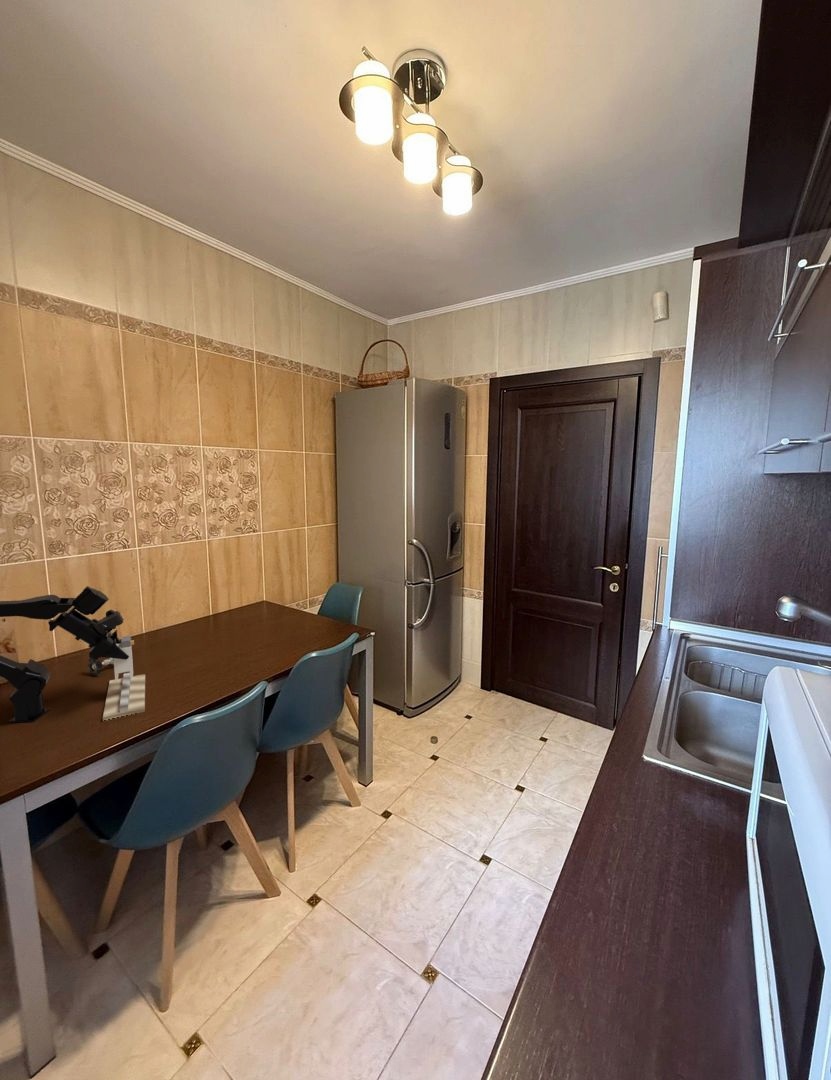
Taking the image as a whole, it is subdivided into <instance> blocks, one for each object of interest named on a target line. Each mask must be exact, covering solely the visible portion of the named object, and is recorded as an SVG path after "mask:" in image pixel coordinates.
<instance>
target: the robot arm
mask: <svg viewBox="0 0 831 1080" xmlns="http://www.w3.org/2000/svg"><path fill="white" fill-rule="evenodd" d="M109 600H110V598H109V597H108V596H107V595H106V594H105V593H104V592H102V591H101V590H97V589H95V588H92V587H90V586H89V585H86V586H85V587H84V589H83V590H82V591H81V592H79V594H78V595H76V596H75V597H59V596H58V595H57V594H56V595H55V594H47V595H40V596H35V597H30V598H25V599H20V600H0V618H6V617H7V618H8V617H21V618H22V617H23V618H27V619H31V620H32V619H33V620H44V621H46V620H48V625H49V626H48V627H49V632H53V631H54V630H55V629H56V628H57V627H59V628H61V629H63V630H64V631H65V632H67V633H69V634H71V635H72V636H74V637H75V638H74V640H76V641H82V642H85V643H86V644H88V648H89V653H88V656H89V659H93V660H95V661H98V659H100V658H105V659H106V658H107V659H109V658H117V659H125V660H126V659H128V658H129V656H128V655H127V654H126V653H125V652H124V651H123V650H121V649H120V648H119V647H118V646H117V645H116V644H119V643H121V641H122V640H120V638H119V636H118V629H117V626H120V625H122V624H123V623H124V618H123V616H122V615H121V611H118V610H116V611H115V610H113V609H109V610H107V611H105V616H104V617H102V618H101V619H99V620H98V619H96V618H92V619H91V618H89V617H87V616H89V615H92V616H93V615H94V614H95V613H97V612H98V611H99V610H100V609H101V608H102V607H103V606H104V605H105V604H106V603H107V602H108V601H109ZM54 618H55V619H54ZM115 629H116V630H115ZM113 630H114V632H112V631H113ZM50 675H51V673H50V670H49V668H47V667H46V663H45V664H44V663H39V662H37V661H36V660H34V659H32V658H31V659H29V660H28V661H27V662H17V661H16V660H15V661H14V660H13V659H11V658H8V657H5V656H4V655H1V654H0V678H2V679H5V680H6V681H7V682H8V683H9V684H10V685H11V686H12V687H13V688H14V690H13V691H12V694H11V695H10V696H9V700H10V702H11V703H12V705H13V712H14V713H13V714H14V717H12V718H10V719H9V720H8V721H9V723H33V722H35V721H37V720H39V718H41V717H42V716H44V715H45V714H46V713H48V712H49V711H50V707H45V702H44V695H43V690H44V689H45V688H46V685H47V684H48V682H49V680H50Z"/></svg>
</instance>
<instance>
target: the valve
mask: <svg viewBox="0 0 831 1080" xmlns="http://www.w3.org/2000/svg"><path fill="white" fill-rule="evenodd" d="M87 662H88V663H87V664H86V666H87V668H89V670H88V672H89V673H90V674H91V673H92V676H93V677H96V676H99V675H101V674H102V672H101V671H100V670H102V669H103V668H102V667H103V666H108V665H114V658H107V659H104V660H102V661H100V660H98V659H97V660H96V661H95V660H93V659H91V658H89V659H87Z"/></svg>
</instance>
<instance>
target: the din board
mask: <svg viewBox="0 0 831 1080" xmlns="http://www.w3.org/2000/svg"><path fill="white" fill-rule="evenodd" d="M145 711H146V673H144V674H138V675H137V674H136V675H133V678H130V672H125V673H123V677H122V678H118V680H117V681H115V679H110V680H109V684H108V689H107V693H106V699H105V704H104V709H103V715H102V721H103V722H105V721H104V720H106V721H109V720H108V719H110V720H113V719H112V718H115V719H118V718H117V717H119V718H122V717H121V716H124V717H127V716H126V715H128V716H131V714H132V715H136V714H135V713H137V714H142V713H145Z"/></svg>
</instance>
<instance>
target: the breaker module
mask: <svg viewBox="0 0 831 1080" xmlns="http://www.w3.org/2000/svg"><path fill="white" fill-rule="evenodd" d="M131 636H132V635H127V636H122V637H121V640H120V641H121V643H119V644H116V645H117V646H118V647H119V648H120V649H121V650H123V651H124V652H125V653H126V654H127V655H128V656H129V658H128V659H126V660H125V659H117V658H114V664H113V669H114V680H115V681H117V680H118V679H119V677H120V676H119V675H120V674H122V673H123V674H124V673H130V678H133V676H134V665H133V664H134V663H133V662H134V661H133V650H132V648H133V647H132V645H135V640H134V639H133V640H132V637H131Z"/></svg>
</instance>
